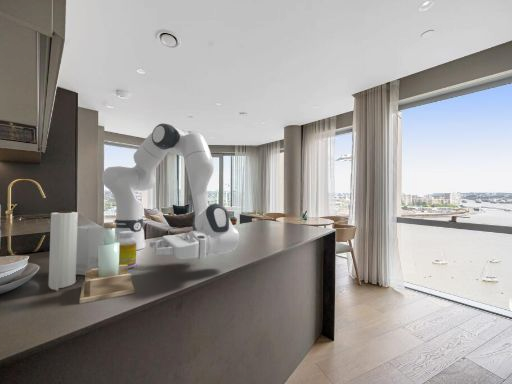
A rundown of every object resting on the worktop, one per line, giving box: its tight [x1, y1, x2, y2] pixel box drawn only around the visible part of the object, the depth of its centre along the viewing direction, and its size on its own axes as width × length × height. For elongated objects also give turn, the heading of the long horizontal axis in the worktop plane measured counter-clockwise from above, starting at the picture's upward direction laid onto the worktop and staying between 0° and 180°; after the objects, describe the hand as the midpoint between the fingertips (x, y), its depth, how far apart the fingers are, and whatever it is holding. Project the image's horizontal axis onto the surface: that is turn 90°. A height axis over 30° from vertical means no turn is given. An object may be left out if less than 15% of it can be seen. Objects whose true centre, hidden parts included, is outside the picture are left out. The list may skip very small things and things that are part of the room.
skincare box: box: [76, 224, 104, 276], centre depth 78 cm, size 8×7×16 cm
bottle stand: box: [79, 264, 135, 304], centre depth 65 cm, size 12×12×5 cm
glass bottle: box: [98, 221, 120, 278], centre depth 65 cm, size 5×5×18 cm
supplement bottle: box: [116, 231, 137, 270], centre depth 85 cm, size 7×7×13 cm
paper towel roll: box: [48, 211, 79, 291], centre depth 67 cm, size 7×6×21 cm
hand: (152, 248), depth 72 cm, fingers open, 8 cm apart
